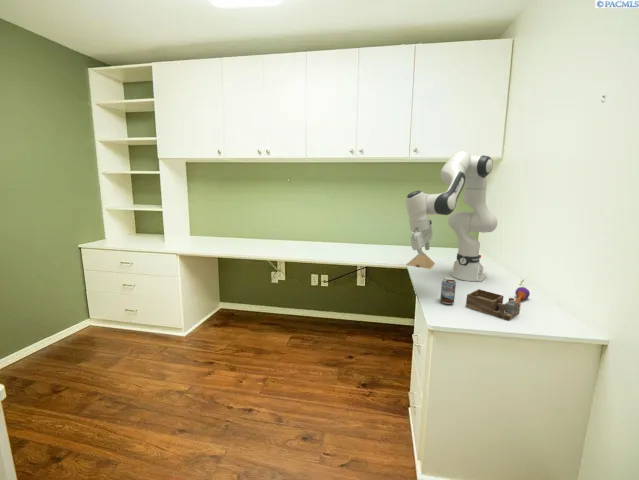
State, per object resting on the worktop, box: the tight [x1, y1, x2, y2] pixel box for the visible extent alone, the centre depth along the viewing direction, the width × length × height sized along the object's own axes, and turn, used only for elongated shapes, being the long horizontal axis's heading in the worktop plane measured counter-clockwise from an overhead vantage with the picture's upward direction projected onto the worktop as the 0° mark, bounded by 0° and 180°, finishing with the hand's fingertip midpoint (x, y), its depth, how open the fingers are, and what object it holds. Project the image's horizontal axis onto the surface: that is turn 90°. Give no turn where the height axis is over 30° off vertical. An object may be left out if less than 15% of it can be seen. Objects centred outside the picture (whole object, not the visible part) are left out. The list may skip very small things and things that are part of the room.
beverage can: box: [440, 277, 457, 305], centre depth 148 cm, size 6×7×12 cm
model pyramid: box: [405, 250, 436, 270], centre depth 216 cm, size 17×17×10 cm
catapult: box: [465, 289, 521, 322], centre depth 141 cm, size 12×18×6 cm, turn 41°
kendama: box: [514, 286, 531, 309], centre depth 151 cm, size 6×6×20 cm
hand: (424, 252), depth 153 cm, fingers open, 8 cm apart
